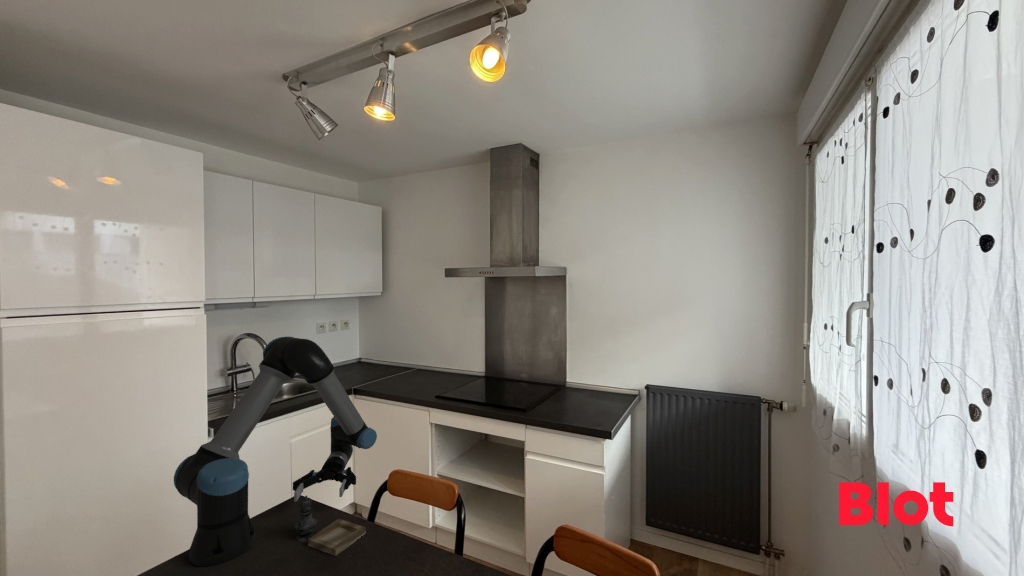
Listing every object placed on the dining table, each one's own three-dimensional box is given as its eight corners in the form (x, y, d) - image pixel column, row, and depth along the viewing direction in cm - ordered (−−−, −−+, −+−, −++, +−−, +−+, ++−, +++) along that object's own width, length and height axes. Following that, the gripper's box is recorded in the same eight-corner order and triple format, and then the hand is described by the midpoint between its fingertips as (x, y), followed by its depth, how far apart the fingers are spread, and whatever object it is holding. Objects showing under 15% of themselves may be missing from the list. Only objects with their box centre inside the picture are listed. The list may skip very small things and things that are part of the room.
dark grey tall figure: (307, 543, 113) (307, 501, 113) (290, 540, 114) (290, 499, 114) (321, 530, 119) (321, 491, 119) (304, 528, 120) (304, 489, 120)
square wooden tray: (307, 545, 112) (307, 539, 112) (338, 524, 122) (338, 518, 122) (335, 556, 107) (335, 549, 107) (365, 533, 118) (365, 527, 118)
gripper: (369, 472, 149) (358, 502, 129) (298, 478, 145) (275, 510, 124) (369, 453, 149) (358, 479, 129) (298, 458, 145) (275, 487, 124)
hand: (318, 495), depth 126 cm, fingers open, 13 cm apart
